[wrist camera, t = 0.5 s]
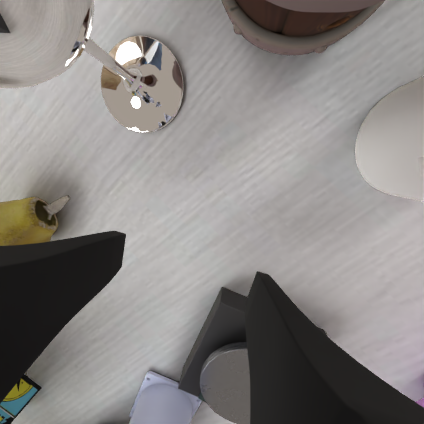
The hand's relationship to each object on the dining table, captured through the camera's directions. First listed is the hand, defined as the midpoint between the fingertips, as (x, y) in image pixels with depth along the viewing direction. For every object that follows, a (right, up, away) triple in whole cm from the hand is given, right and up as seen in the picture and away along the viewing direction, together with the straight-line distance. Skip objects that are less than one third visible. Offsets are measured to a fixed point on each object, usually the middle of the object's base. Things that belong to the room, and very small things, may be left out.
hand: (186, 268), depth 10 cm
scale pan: (+5, -14, +9) cm, 18 cm away
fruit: (-17, +3, +12) cm, 21 cm away
